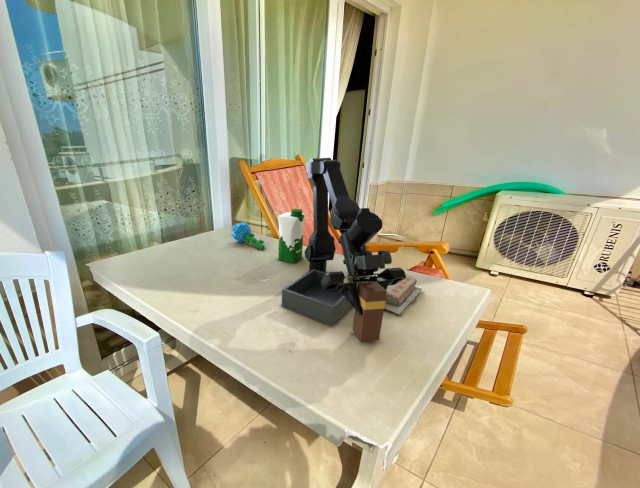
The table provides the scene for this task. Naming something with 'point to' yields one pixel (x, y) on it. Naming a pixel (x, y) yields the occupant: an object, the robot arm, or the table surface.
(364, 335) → the chocolate box
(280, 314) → the table surface
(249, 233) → the toy flower
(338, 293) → the open storage bin
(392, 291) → the packaged product
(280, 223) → the milk carton
